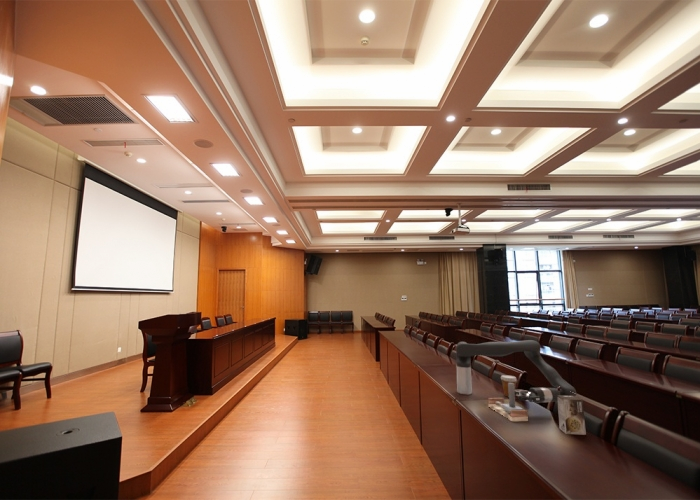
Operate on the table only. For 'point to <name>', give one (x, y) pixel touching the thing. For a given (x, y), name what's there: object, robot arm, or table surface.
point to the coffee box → (571, 414)
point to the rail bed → (513, 415)
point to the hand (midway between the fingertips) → (513, 395)
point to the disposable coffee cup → (505, 381)
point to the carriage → (511, 399)
